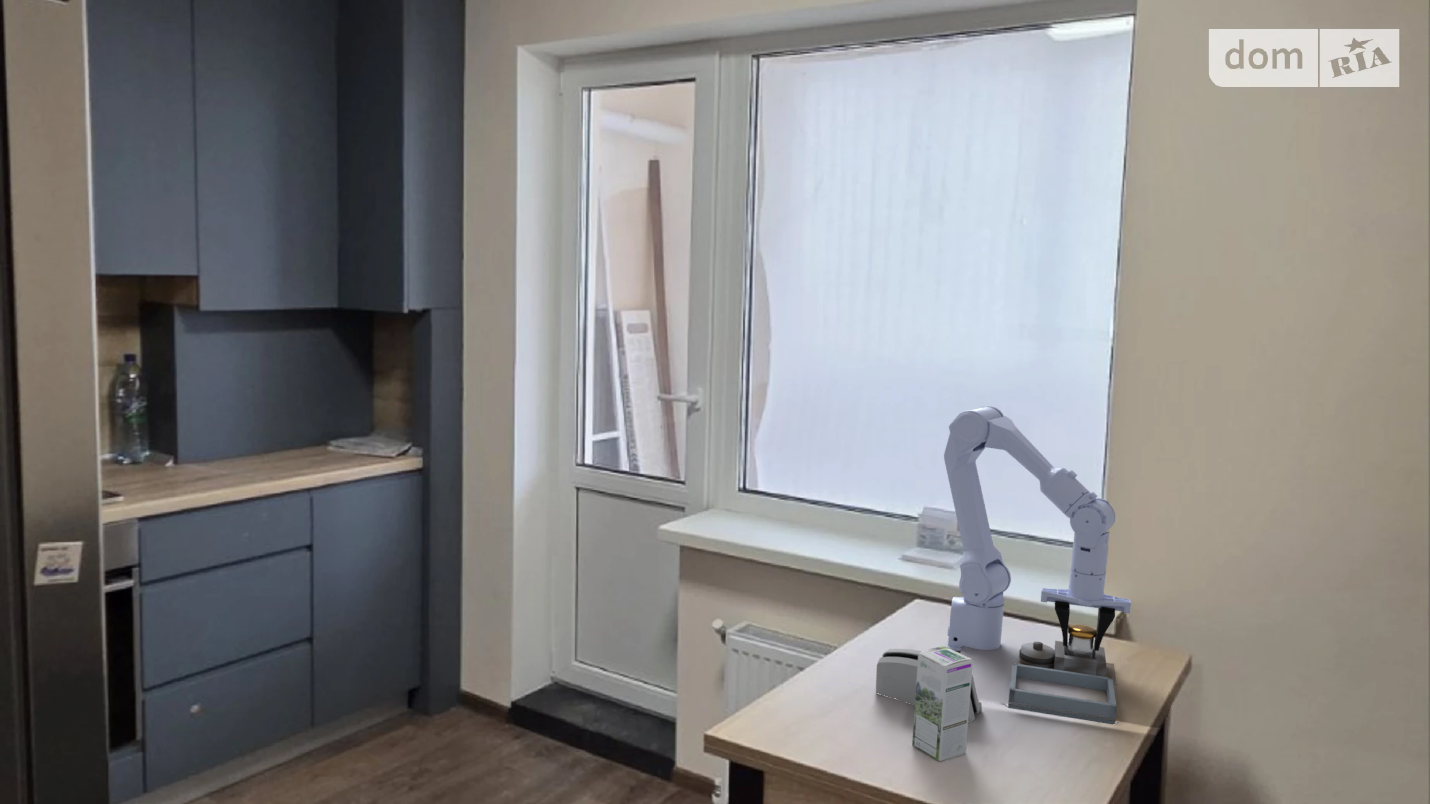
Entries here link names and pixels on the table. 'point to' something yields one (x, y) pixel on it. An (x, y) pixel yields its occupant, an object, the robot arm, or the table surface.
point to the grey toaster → (908, 678)
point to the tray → (1062, 701)
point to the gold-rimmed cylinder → (1081, 641)
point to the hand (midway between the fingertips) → (1080, 646)
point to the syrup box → (942, 703)
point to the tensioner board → (1065, 660)
